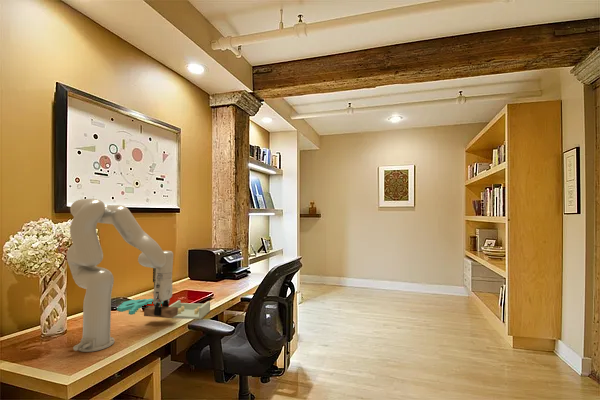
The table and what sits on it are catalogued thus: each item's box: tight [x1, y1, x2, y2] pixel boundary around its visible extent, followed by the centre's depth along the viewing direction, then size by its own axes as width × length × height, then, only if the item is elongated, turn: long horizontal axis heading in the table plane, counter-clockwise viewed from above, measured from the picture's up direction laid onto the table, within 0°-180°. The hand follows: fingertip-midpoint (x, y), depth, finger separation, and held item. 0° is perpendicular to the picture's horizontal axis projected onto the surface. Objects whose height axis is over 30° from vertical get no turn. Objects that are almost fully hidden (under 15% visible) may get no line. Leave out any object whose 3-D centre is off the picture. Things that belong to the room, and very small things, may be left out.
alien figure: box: [116, 298, 163, 316], centre depth 178 cm, size 20×2×20 cm
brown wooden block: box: [143, 306, 178, 319], centre depth 152 cm, size 14×6×4 cm, turn 83°
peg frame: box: [169, 299, 211, 320], centre depth 165 cm, size 12×18×6 cm, turn 85°
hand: (161, 313), depth 152 cm, fingers closed on brown wooden block, 6 cm apart
